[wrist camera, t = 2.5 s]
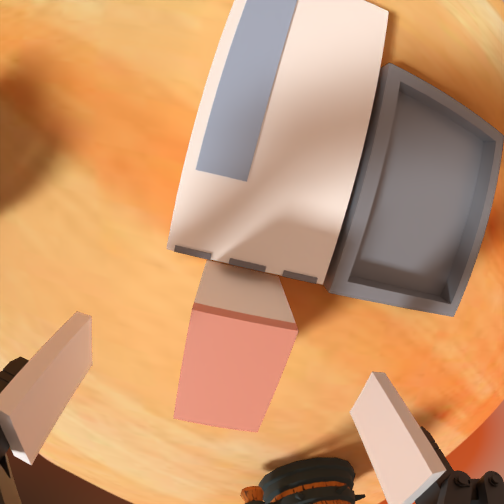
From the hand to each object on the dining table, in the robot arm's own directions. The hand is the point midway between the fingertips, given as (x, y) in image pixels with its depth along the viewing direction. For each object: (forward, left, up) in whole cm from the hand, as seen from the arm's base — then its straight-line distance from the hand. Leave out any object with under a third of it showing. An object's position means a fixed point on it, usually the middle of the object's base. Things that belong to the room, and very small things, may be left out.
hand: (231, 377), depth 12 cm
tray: (-10, +9, -5) cm, 14 cm away
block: (0, 0, -5) cm, 5 cm away
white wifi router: (-12, 0, -5) cm, 13 cm away
